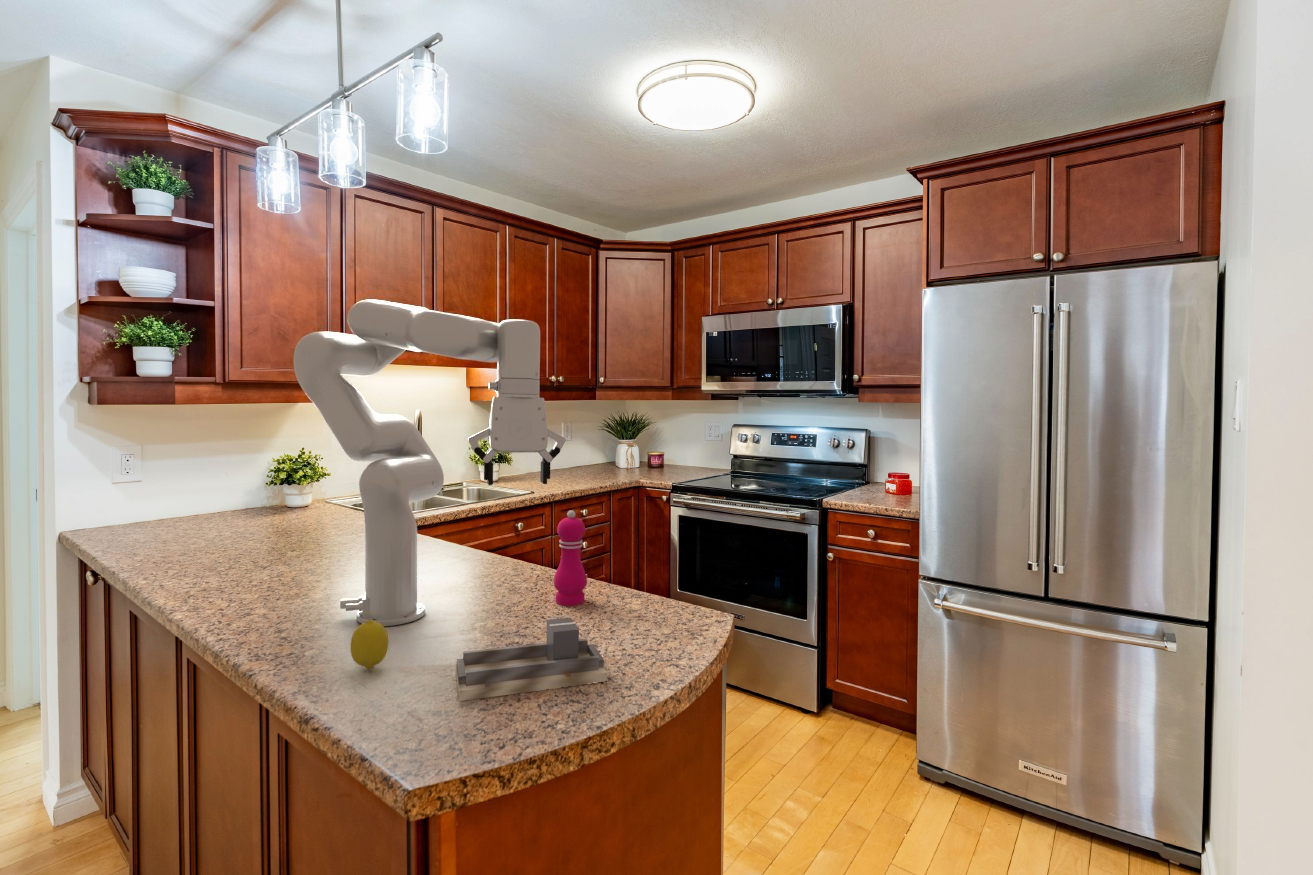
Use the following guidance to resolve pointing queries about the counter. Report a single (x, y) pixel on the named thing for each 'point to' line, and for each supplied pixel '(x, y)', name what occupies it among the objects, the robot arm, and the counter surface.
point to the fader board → (524, 670)
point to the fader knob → (562, 639)
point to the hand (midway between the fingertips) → (517, 483)
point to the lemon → (369, 644)
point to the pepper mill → (570, 562)
